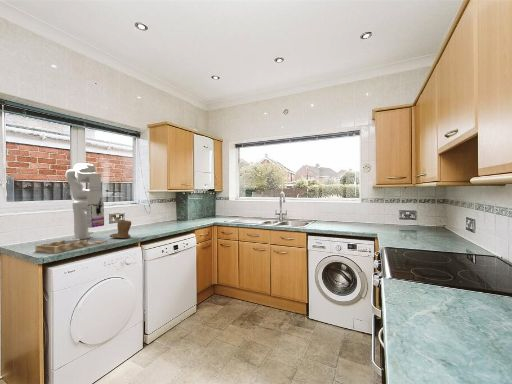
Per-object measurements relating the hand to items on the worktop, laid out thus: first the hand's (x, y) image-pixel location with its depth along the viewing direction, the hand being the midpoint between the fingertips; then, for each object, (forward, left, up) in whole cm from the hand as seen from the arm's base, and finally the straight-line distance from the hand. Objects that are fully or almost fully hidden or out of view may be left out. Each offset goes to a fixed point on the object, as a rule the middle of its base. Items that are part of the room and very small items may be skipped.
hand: (95, 213), depth 182 cm
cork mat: (0, 0, -22) cm, 22 cm away
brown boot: (-22, +3, -23) cm, 32 cm away
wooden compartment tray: (+19, -7, -22) cm, 30 cm away
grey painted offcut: (+12, -7, -20) cm, 25 cm away
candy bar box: (0, 0, -10) cm, 10 cm away
